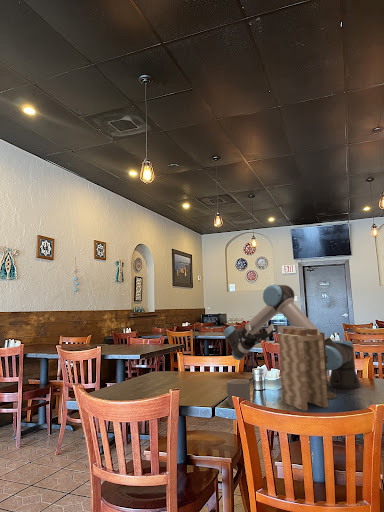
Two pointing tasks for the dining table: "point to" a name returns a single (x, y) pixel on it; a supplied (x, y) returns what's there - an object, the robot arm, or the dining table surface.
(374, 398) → the dining table surface
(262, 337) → the robot arm
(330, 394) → the candlestick holder
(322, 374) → the brown wavy-patterned folding screen
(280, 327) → the hook arm
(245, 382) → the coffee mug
